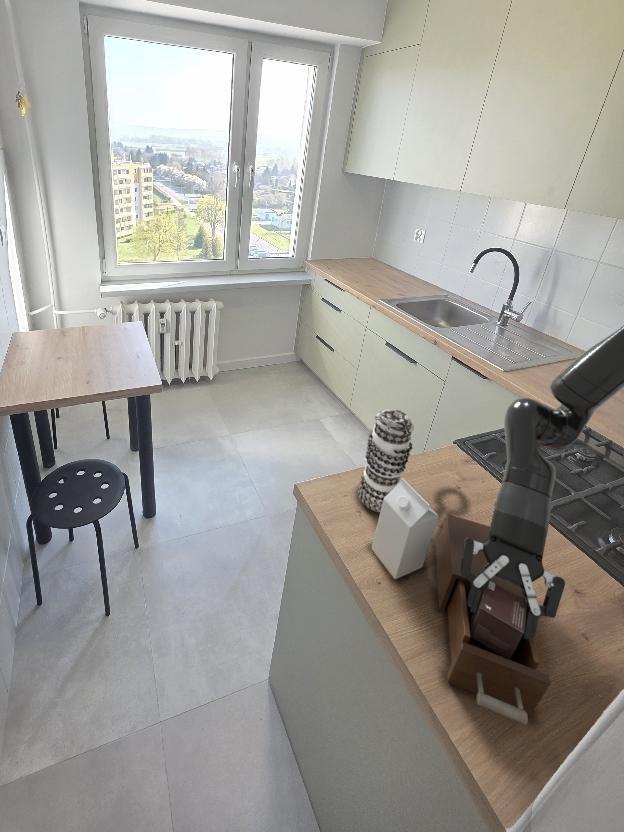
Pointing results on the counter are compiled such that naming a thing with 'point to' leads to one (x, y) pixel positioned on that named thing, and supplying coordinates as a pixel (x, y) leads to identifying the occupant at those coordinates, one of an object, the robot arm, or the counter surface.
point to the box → (499, 620)
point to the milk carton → (404, 530)
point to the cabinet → (451, 556)
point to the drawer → (493, 666)
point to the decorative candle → (385, 457)
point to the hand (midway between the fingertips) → (498, 625)
